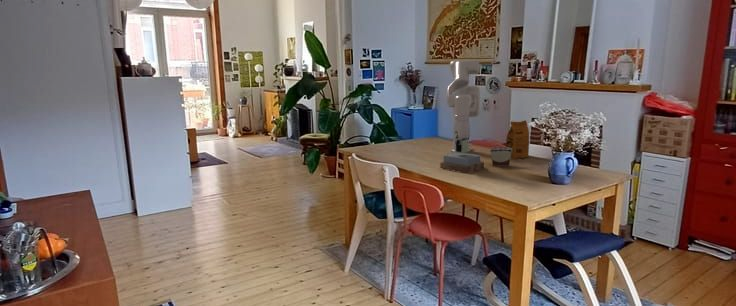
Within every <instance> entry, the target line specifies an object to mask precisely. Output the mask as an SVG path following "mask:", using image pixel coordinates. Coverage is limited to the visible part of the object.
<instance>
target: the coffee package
mask: <svg viewBox="0 0 736 306" xmlns="http://www.w3.org/2000/svg"><path fill="white" fill-rule="evenodd" d="M509 123H510V127H509V130H508V132H507V135H506V139H505V141H506V142H505V147H509V148H512V151H513V152H511V159H513V160H515V159H525V158H528V157H529V153H530V130H529V127H528V123H527V120H522V121H513V120H511V121H510V122H509Z"/></svg>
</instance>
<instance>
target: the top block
mask: <svg viewBox="0 0 736 306" xmlns="http://www.w3.org/2000/svg"><path fill="white" fill-rule="evenodd" d="M480 161H481V155H480V154H473V153H468V152H467V153H456V152H452V153H448V154H445V155H443V162H444V163H449V164H456V165H462V166H471V165H474V164H477V163H480Z"/></svg>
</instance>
